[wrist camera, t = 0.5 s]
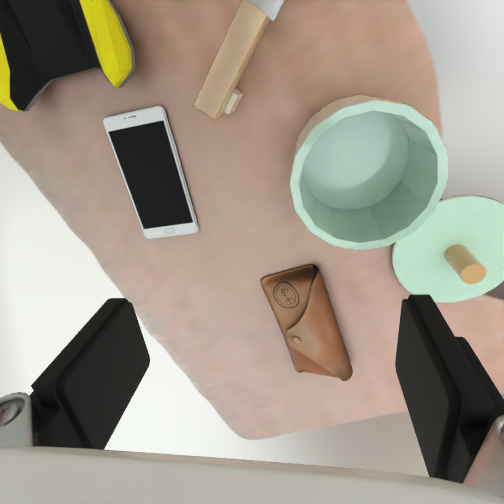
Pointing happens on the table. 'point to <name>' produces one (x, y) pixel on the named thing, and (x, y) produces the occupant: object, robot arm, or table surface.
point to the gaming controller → (59, 46)
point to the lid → (454, 250)
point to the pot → (367, 172)
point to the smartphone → (152, 171)
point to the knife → (235, 54)
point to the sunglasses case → (308, 321)
